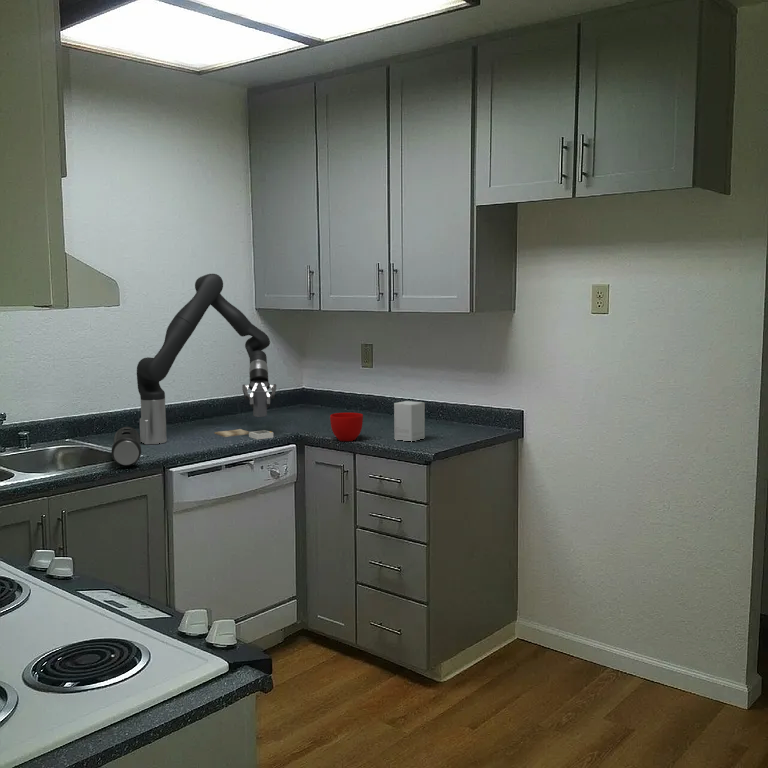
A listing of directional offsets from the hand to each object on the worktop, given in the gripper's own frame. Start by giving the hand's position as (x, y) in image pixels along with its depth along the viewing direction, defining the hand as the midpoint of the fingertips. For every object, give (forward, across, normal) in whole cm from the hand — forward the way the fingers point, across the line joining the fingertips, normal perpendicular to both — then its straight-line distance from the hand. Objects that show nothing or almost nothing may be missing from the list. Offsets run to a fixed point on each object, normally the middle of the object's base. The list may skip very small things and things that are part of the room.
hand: (260, 406), depth 324 cm
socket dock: (+8, 0, +11) cm, 13 cm away
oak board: (0, -11, +18) cm, 21 cm away
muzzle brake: (+33, -47, -12) cm, 59 cm away
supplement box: (+19, +58, -1) cm, 61 cm away
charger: (+2, 0, +4) cm, 5 cm away
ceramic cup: (+14, +35, +4) cm, 38 cm away
